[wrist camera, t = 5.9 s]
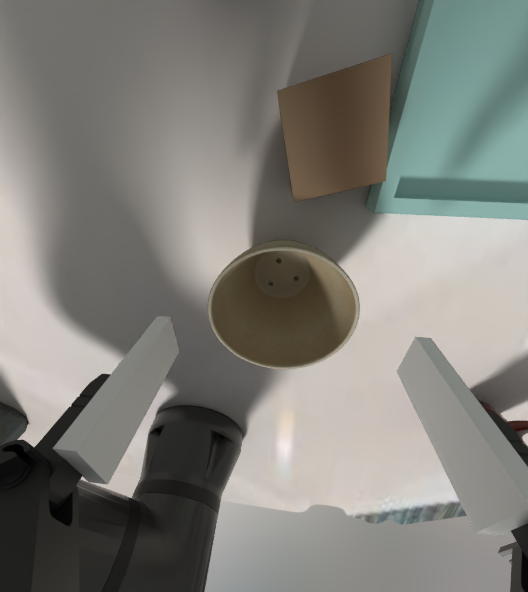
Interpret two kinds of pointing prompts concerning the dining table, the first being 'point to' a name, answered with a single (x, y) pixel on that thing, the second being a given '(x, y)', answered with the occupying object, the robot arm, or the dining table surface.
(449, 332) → the dining table surface
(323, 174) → the walnut block
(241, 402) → the dining table surface
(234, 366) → the dining table surface
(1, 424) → the bottle
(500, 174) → the tray
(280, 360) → the flower pot
